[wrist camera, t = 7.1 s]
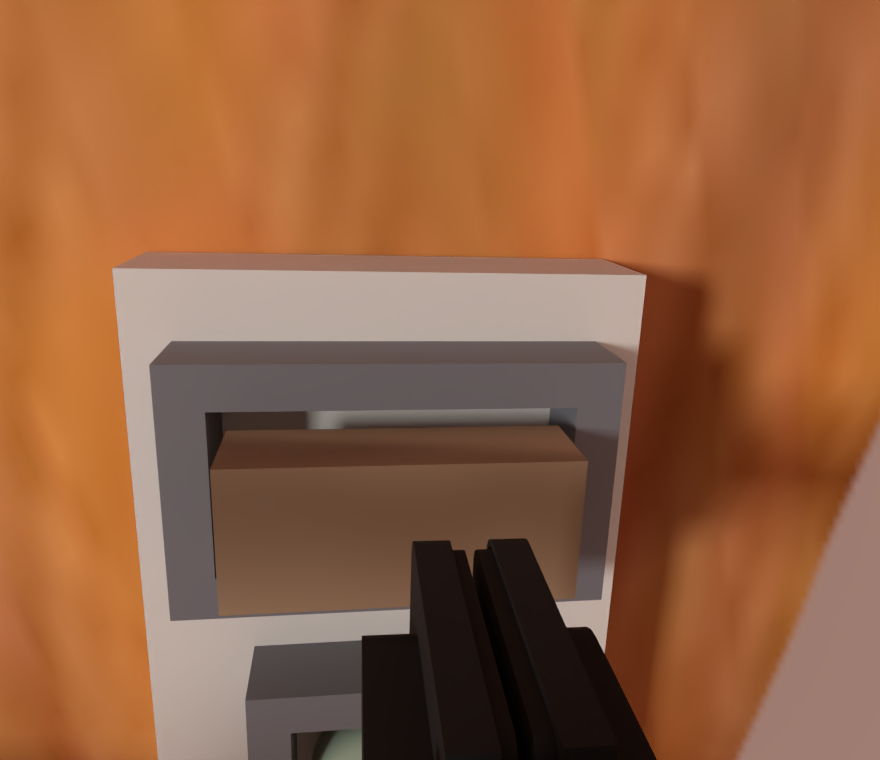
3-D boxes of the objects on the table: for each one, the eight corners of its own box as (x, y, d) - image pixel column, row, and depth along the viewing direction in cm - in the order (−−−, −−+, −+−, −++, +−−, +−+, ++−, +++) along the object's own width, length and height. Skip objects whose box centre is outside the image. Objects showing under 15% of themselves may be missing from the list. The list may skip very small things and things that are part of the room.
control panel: (537, 957, 28) (579, 1123, 23) (206, 995, 26) (176, 1183, 21) (602, 258, 20) (684, 289, 15) (147, 251, 19) (81, 283, 14)
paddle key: (548, 549, 17) (574, 598, 15) (233, 561, 16) (218, 615, 14) (558, 425, 16) (588, 461, 14) (225, 430, 15) (209, 469, 13)
